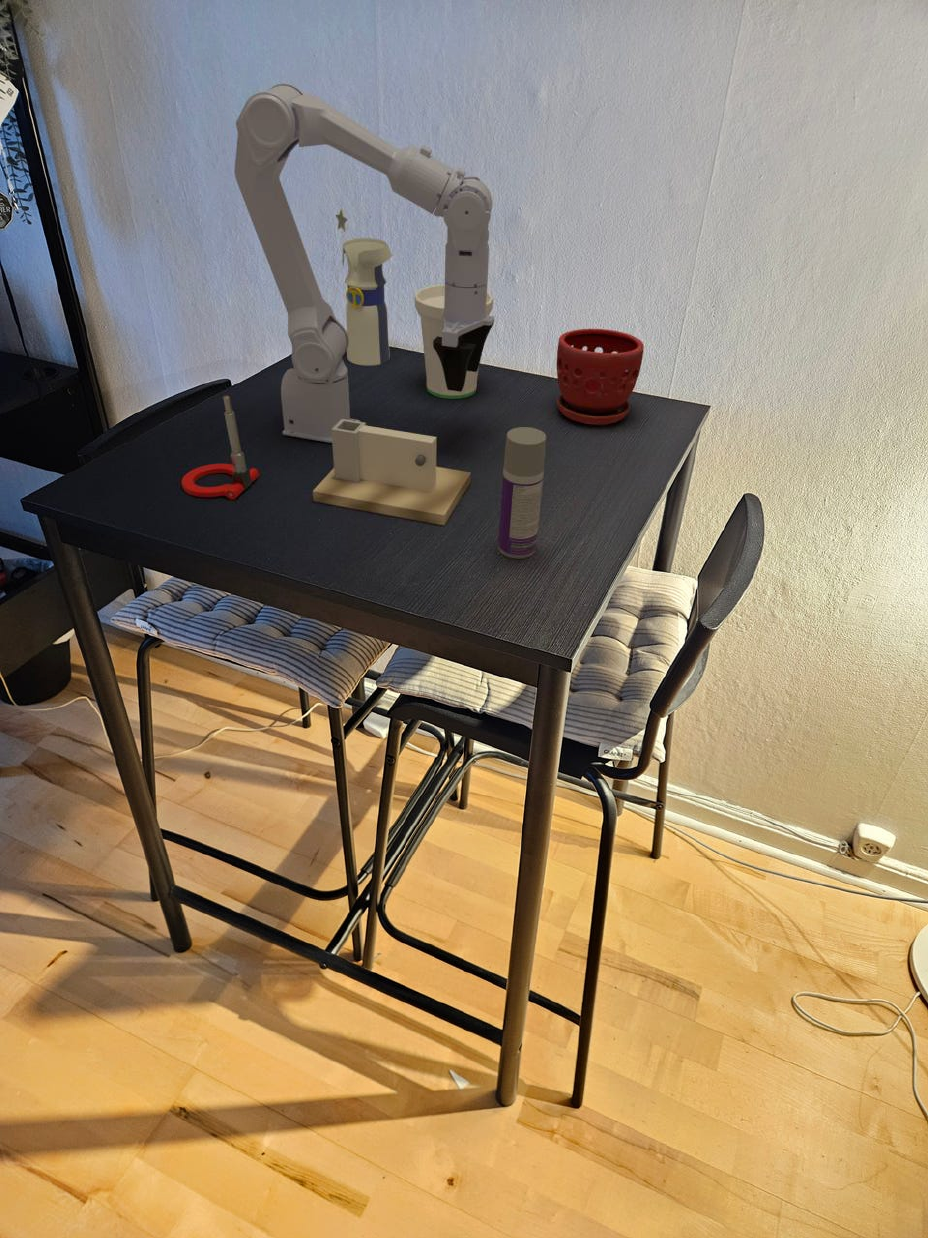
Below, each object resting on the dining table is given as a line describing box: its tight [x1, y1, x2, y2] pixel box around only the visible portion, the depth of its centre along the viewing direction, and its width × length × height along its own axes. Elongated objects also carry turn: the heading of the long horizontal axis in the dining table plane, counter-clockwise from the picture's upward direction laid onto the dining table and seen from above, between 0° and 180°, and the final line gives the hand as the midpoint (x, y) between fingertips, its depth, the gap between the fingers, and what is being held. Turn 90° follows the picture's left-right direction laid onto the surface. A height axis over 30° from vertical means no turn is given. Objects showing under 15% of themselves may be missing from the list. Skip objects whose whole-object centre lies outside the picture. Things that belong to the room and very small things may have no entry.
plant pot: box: [556, 328, 645, 426], centre depth 131 cm, size 13×13×12 cm
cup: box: [413, 284, 494, 400], centre depth 136 cm, size 12×12×15 cm
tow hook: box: [181, 395, 260, 501], centre depth 109 cm, size 8×13×9 cm
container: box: [497, 426, 547, 560], centre depth 98 cm, size 5×5×15 cm
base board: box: [312, 466, 472, 526], centre depth 111 cm, size 18×12×5 cm, turn 74°
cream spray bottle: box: [335, 208, 393, 366], centre depth 143 cm, size 8×9×25 cm
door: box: [331, 419, 438, 492], centre depth 110 cm, size 13×3×7 cm, turn 74°
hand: (462, 379), depth 120 cm, fingers open, 7 cm apart
